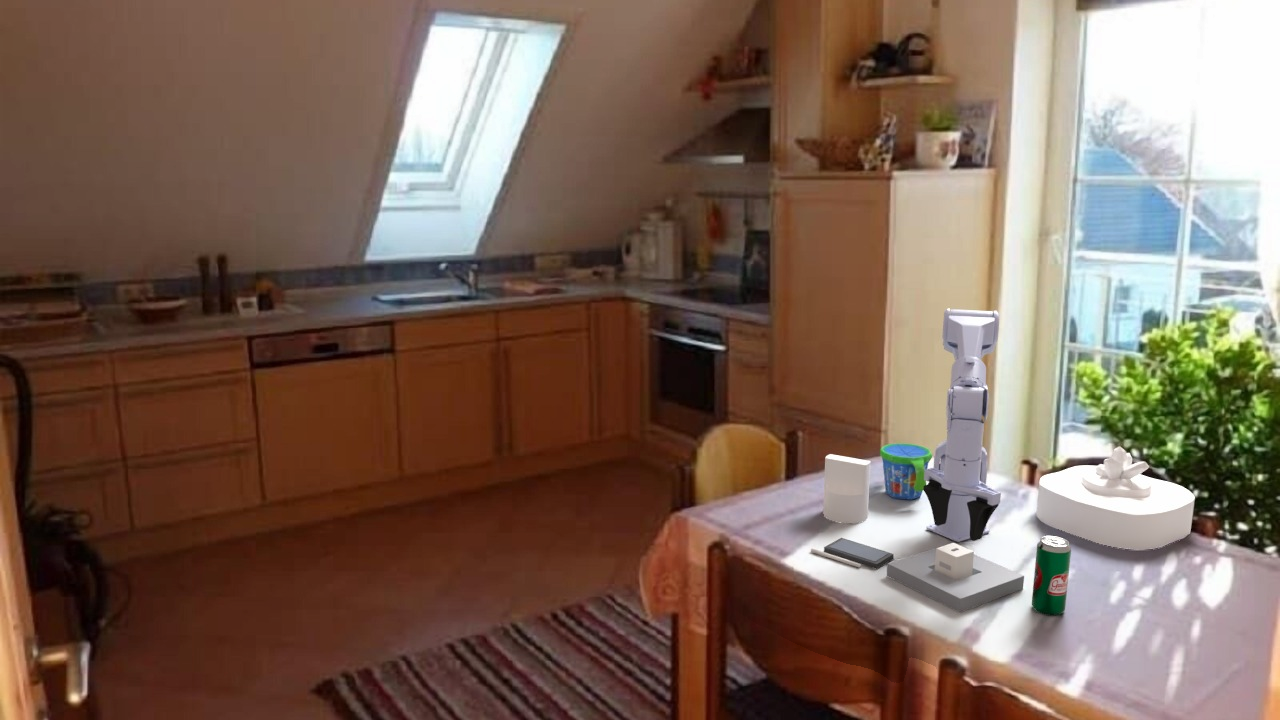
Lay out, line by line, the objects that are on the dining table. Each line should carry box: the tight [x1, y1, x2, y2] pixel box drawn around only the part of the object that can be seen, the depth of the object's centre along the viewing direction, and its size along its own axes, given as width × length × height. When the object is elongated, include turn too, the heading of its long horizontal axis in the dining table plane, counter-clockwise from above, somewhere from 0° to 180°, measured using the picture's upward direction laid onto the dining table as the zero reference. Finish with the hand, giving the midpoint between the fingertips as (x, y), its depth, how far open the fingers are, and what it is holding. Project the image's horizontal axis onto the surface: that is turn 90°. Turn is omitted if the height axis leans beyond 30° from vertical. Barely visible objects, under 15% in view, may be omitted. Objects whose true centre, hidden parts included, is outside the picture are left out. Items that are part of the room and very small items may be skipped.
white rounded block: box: [822, 453, 872, 524], centre depth 197 cm, size 9×9×12 cm
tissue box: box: [1036, 446, 1196, 549], centre depth 193 cm, size 25×25×16 cm
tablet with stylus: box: [810, 537, 894, 570], centre depth 179 cm, size 8×13×1 cm, turn 47°
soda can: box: [1031, 535, 1072, 616], centre depth 157 cm, size 5×5×12 cm
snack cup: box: [879, 442, 933, 501], centre depth 209 cm, size 16×10×10 cm
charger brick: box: [935, 542, 975, 581], centre depth 167 cm, size 4×4×6 cm
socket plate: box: [886, 543, 1025, 613], centre depth 168 cm, size 16×16×2 cm
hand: (957, 531), depth 166 cm, fingers open, 7 cm apart
